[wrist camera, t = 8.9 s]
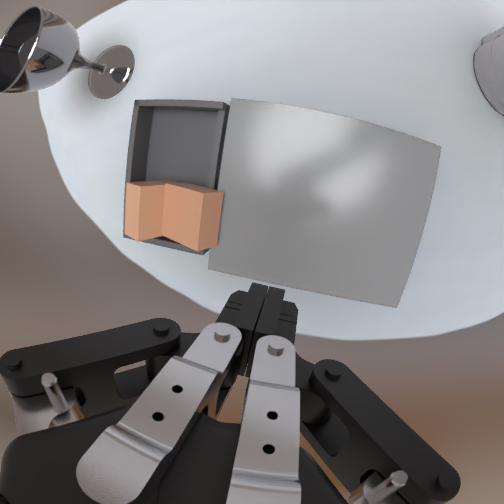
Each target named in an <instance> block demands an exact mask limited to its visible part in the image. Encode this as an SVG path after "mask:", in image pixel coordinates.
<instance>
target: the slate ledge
mask: <svg viewBox="0 0 504 504" xmlns="http://www.w3.org/2000/svg"><path fill="white" fill-rule="evenodd" d="M440 152H441V146H438V145H435V144H433V143H430V142H427V141H425V140H422V139H419V138H416V137H413V136H411V135H408V134H405V133H402V132H398V131H395V130H392V129H389V128H386V127H382V126H379V125H375V124H372V123H368V122H364V121H361V120H357V119H353V118H349V117H345V116H340V115H336V114H332V113H327V112H322V111H317V110H312V109H307V108H301V107H296V106H290V105H283V104H277V103H270V102H262V101H254V100H245V99H234V98H231V104H230V110H229V116H228V122H227V128H226V135H225V141H224V148H223V155H222V161H221V168H220V176H219V183H218V190H219V191H223V192H224V194H223V202H222V209H221V217H220V225H219V233H218V241H217V246H215V247H211V248H210V257H209V266H208V269H210V270H214V271H219V272H223V273H227V274H232V275H236V276H241V277H245V278H250V279H254V280H259V281H264V282H268V283H273V284H277V285H282V286H287V287H292V288H296V289H301V290H306V291H311V292H316V293H321V294H326V295H331V296H336V297H341V298H346V299H351V300H356V301H361V302H367V303H372V304H377V305H383V306H388V307H394V308H397V306H398V303H399V301H400V298H401V296H402V293H403V290H404V288H405V285H406V282H407V279H408V277H409V274H410V271H411V268H412V265H413V262H414V259H415V256H416V253H417V250H418V246H419V243H420V240H421V236H422V233H423V229H424V226H425V222H426V218H427V214H428V210H429V206H430V202H431V198H432V194H433V189H434V184H435V180H436V175H437V169H438V164H439V158H440Z"/></svg>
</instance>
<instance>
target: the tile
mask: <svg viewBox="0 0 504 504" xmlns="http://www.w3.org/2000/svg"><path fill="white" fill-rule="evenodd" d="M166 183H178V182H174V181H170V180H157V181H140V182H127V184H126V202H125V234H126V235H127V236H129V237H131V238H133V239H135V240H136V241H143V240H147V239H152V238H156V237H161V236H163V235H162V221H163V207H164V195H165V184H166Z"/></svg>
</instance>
